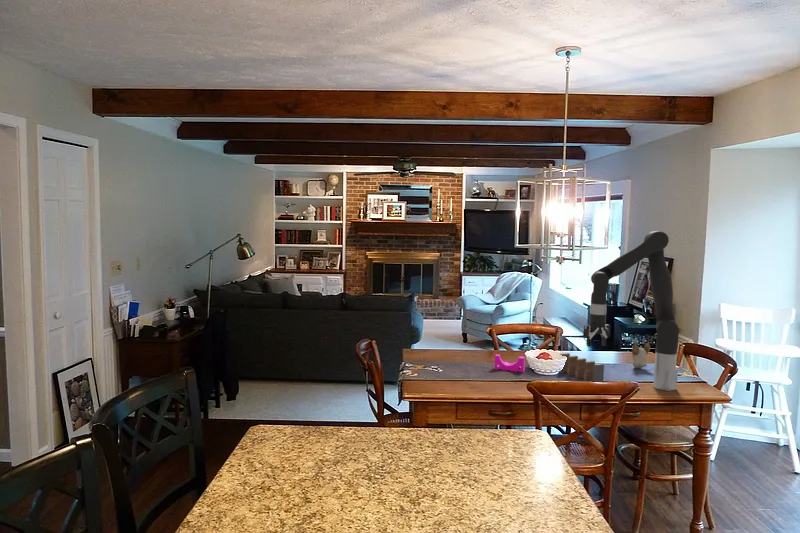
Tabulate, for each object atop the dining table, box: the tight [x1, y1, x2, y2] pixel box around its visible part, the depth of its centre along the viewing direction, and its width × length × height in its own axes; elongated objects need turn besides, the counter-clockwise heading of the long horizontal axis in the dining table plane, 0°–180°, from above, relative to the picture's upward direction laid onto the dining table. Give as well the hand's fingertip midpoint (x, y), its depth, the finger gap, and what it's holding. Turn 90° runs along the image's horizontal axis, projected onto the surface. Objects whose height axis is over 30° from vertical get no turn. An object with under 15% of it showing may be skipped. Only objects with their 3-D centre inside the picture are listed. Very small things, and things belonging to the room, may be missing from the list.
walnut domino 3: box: [575, 357, 587, 380], centre depth 285 cm, size 2×5×10 cm, turn 115°
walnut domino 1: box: [559, 352, 571, 374], centre depth 296 cm, size 2×5×10 cm, turn 115°
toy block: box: [494, 353, 526, 373], centre depth 300 cm, size 15×6×8 cm, turn 71°
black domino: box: [593, 363, 605, 383], centre depth 274 cm, size 2×5×10 cm, turn 115°
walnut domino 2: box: [566, 355, 579, 377], centre depth 290 cm, size 2×5×10 cm, turn 115°
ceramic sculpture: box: [631, 341, 651, 369], centre depth 307 cm, size 11×9×15 cm
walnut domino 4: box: [583, 360, 596, 381], centre depth 279 cm, size 2×5×10 cm, turn 114°
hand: (596, 346), depth 275 cm, fingers open, 8 cm apart
